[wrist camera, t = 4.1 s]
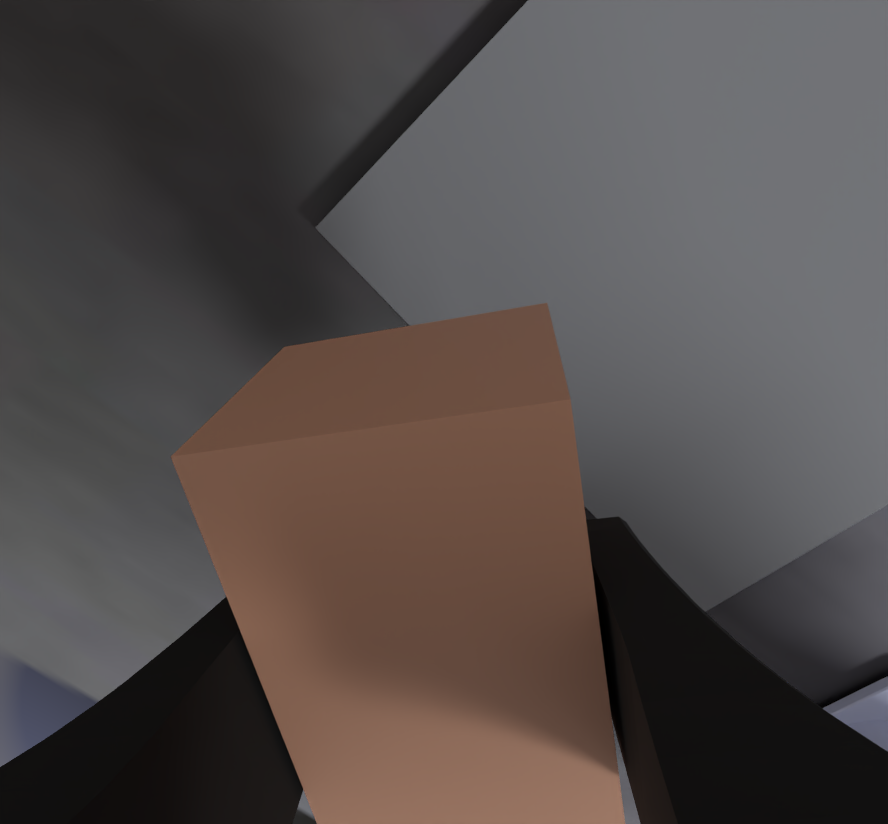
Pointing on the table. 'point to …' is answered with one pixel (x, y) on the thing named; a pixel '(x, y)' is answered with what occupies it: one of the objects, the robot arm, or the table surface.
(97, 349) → the table surface
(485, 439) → the light orange rectangular block
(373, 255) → the mat
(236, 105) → the table surface
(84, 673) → the table surface
